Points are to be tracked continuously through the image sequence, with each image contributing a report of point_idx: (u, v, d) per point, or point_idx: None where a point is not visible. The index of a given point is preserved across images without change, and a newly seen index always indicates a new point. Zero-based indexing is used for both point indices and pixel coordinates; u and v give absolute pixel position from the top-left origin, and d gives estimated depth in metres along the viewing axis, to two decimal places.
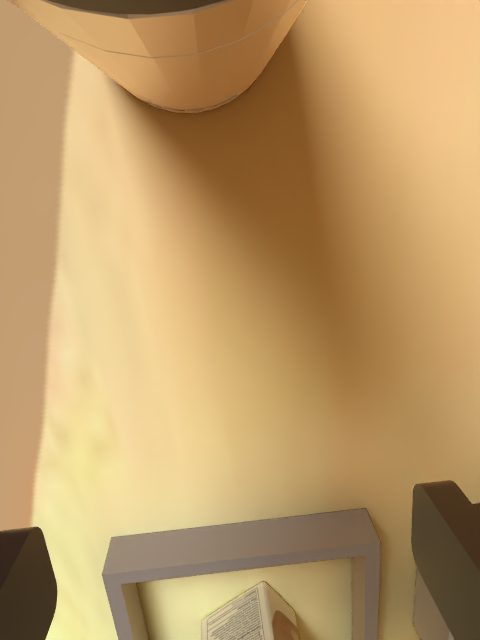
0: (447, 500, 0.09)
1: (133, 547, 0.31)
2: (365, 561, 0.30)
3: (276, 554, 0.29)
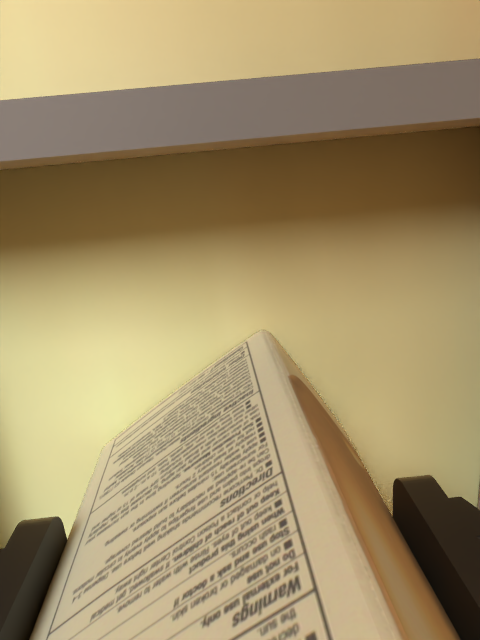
0: (424, 494, 0.09)
1: None
2: None
3: (305, 76, 0.08)
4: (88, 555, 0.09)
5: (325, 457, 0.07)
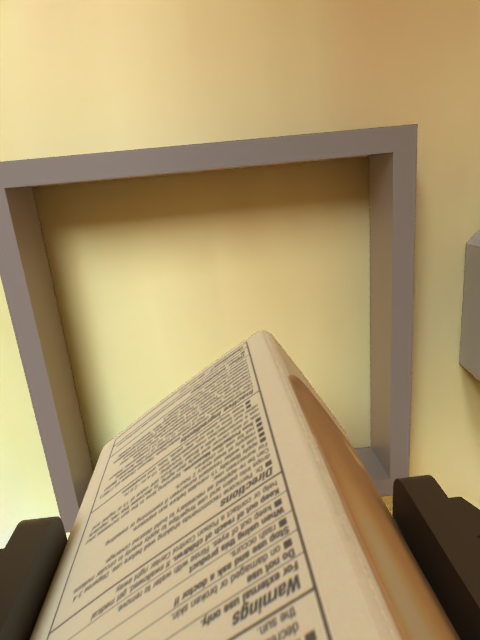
0: (424, 494, 0.09)
1: None
2: (393, 166, 0.19)
3: (252, 140, 0.18)
4: (88, 555, 0.09)
5: (325, 457, 0.07)
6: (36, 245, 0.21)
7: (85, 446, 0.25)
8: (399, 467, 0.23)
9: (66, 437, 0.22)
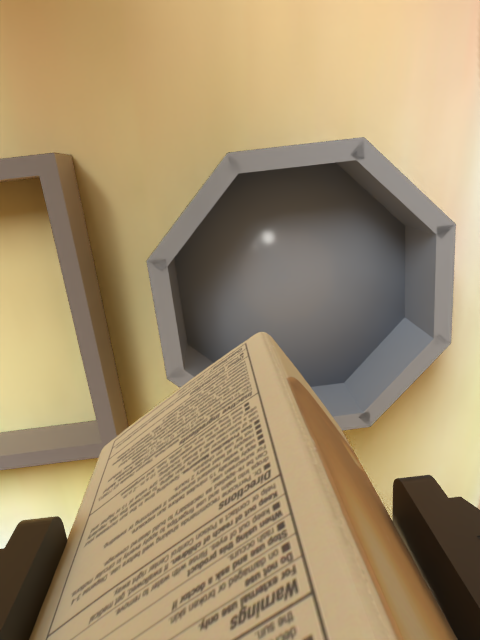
0: (424, 494, 0.09)
1: None
2: (42, 187, 0.24)
3: None
4: (86, 557, 0.09)
5: (323, 460, 0.07)
6: None
7: None
8: (107, 433, 0.28)
9: None
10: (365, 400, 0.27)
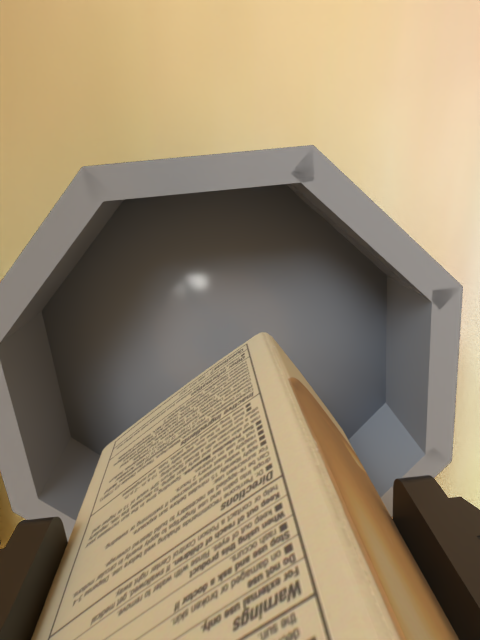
0: (424, 494, 0.09)
1: None
2: None
3: None
4: (88, 558, 0.09)
5: (325, 461, 0.07)
6: None
7: None
8: None
9: None
10: None
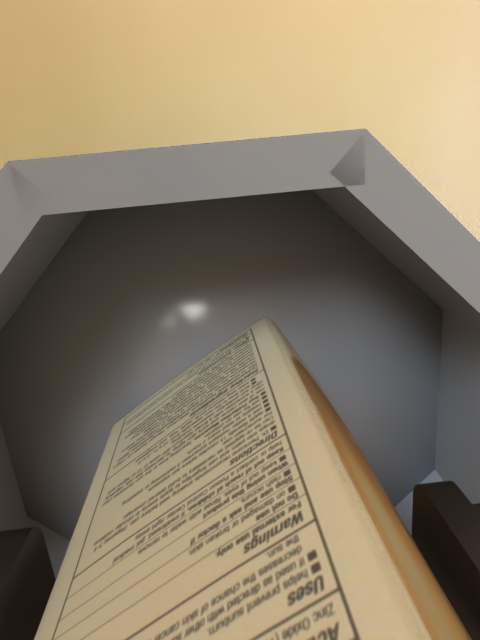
0: (447, 500, 0.09)
1: None
2: None
3: None
4: (105, 514, 0.10)
5: (324, 421, 0.08)
6: None
7: None
8: None
9: None
10: None
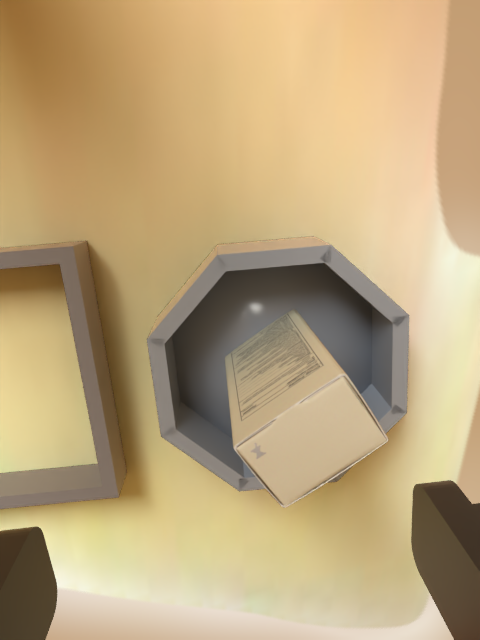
0: (447, 500, 0.09)
1: None
2: (62, 273, 0.28)
3: None
4: (241, 374, 0.27)
5: (316, 336, 0.26)
6: None
7: None
8: (108, 478, 0.32)
9: None
10: None
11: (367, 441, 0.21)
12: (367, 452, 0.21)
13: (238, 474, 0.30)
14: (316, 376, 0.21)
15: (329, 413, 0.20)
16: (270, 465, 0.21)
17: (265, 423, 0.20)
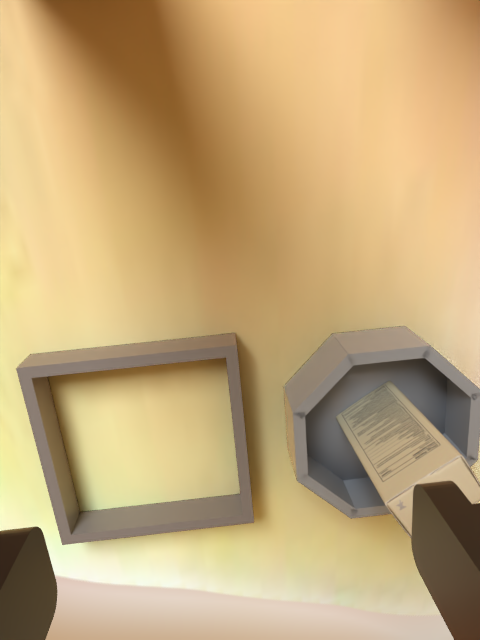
0: (447, 500, 0.09)
1: (45, 357, 0.39)
2: (227, 363, 0.38)
3: (154, 354, 0.37)
4: (362, 438, 0.37)
5: (422, 414, 0.36)
6: (46, 395, 0.40)
7: (74, 495, 0.44)
8: (247, 508, 0.42)
9: (62, 494, 0.41)
10: None
11: (472, 497, 0.31)
12: None
13: (351, 506, 0.41)
14: (437, 453, 0.31)
15: (450, 480, 0.30)
16: (408, 514, 0.31)
17: (406, 487, 0.31)
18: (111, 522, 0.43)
